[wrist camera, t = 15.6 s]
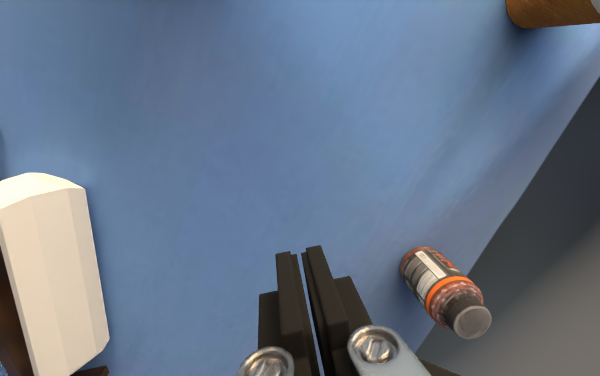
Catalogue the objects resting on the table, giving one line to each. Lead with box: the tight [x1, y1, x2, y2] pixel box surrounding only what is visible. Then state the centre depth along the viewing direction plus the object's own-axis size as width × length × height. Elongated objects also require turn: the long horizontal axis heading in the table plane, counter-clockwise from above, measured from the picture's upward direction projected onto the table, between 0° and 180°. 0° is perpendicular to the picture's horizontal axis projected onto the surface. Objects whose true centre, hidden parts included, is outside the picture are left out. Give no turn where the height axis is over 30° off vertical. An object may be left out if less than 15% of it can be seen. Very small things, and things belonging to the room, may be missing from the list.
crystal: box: [0, 173, 110, 376], centre depth 34 cm, size 7×7×24 cm
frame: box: [0, 246, 109, 376], centre depth 33 cm, size 33×6×5 cm, turn 9°
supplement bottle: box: [400, 247, 491, 339], centre depth 36 cm, size 6×6×11 cm
